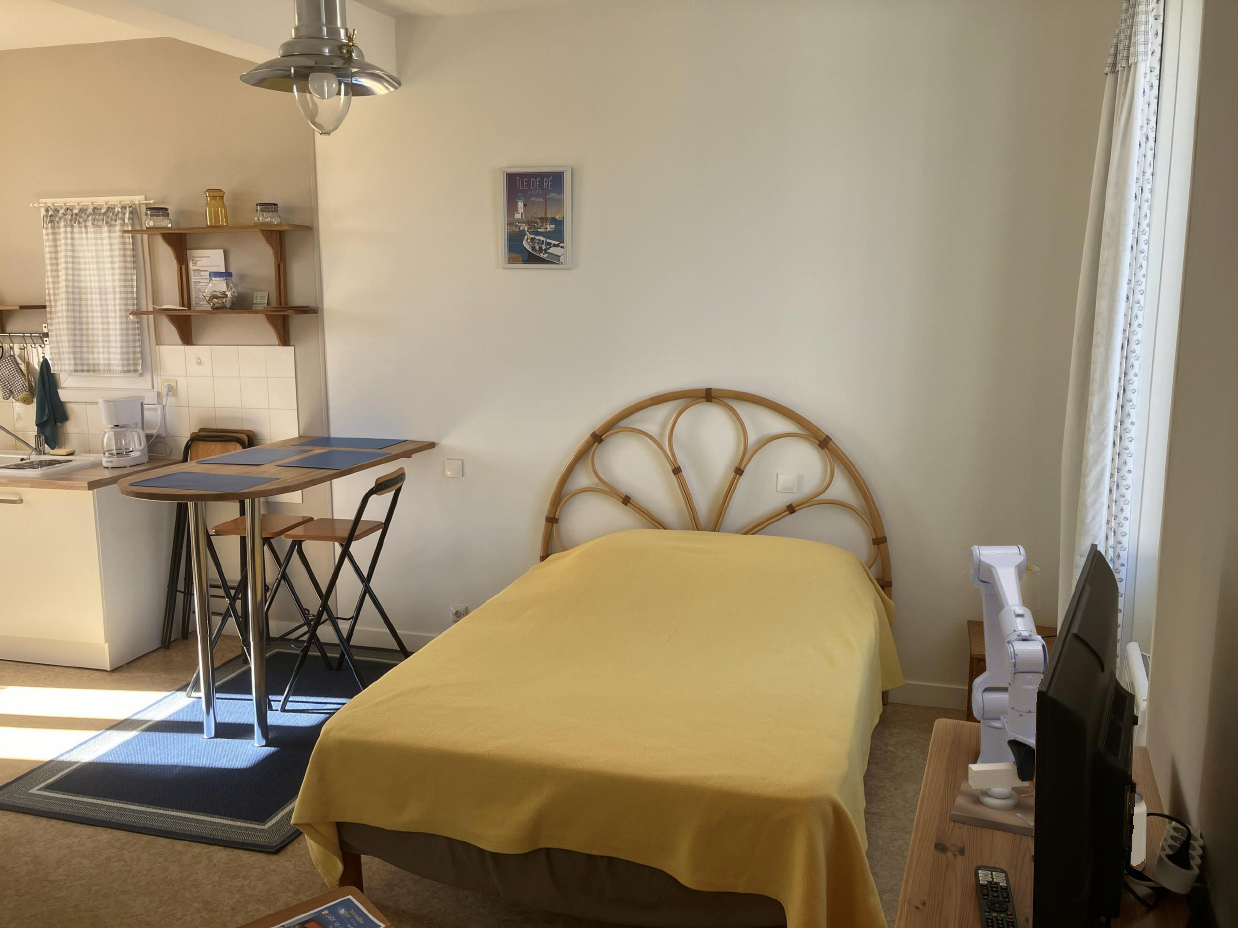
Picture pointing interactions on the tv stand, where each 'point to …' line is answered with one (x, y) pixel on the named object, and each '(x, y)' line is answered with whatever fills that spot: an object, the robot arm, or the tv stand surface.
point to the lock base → (995, 809)
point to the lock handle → (995, 778)
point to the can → (1139, 830)
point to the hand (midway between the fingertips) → (1025, 779)
